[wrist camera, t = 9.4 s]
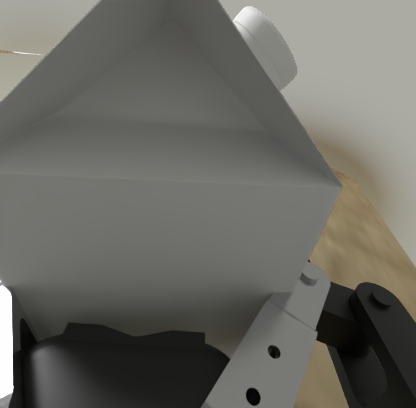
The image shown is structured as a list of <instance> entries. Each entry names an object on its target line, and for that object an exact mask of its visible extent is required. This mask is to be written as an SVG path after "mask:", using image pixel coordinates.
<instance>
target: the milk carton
mask: <svg viewBox="0 0 416 408" xmlns="http://www.w3.org/2000/svg"><path fill="white" fill-rule="evenodd" d="M296 74H297V66H296V63H295V60H294V57H293V55H292V53H291V51H290V49H289V47H288V45H287V43H286V42H285V40H284V39H283V37H282V35H281V34H280V33H279V31H278V30H277V28H276V27H275V26H274V25H273V23H272V22H271V21H270V20H269V19H268V18H267V17H266V16H265V15H264V14H263V13H261V12H260V11H259V10H258V9H256V8H254V7H251V6H248V7H245V8H243V9H242V10H241V12H240V13H239V14H238V15H237V16H236V17H235V19H234V20H233V21H232V20H231V18H230V17H229V15H228V14H227V12H226V11H225V9H224V8H223V6H222V5H221V3H220V2H219V0H100V1H98V3H97V4H96V5H95V6H94V7H93V8H92V9H91V10H90V11H89V12H88V13H87V14H86V15H85V16H84V17H83V18H82V19H81V20H80V21H79V22H78V23H77V24H76V25H75V26H74V27H73V28H72V29H71V30H70V31H69V32H68V33H67V34H66V35H65V37H63V38H62V39H61V40H60V41H59V42H58V43H57V44H56V46H55V47H54V48H53V49H52V50H51V51H50V52H49V53H48V54H47V55H46V56H45V57H44V58H43V59H42V60H41V61H40V62H39V63H38V64H37V65H36V66H35V67H34V68H33V69H32V70H31V71H30V72H29V73H28V74H27V75H26V76H25V77H24V78H23V79H22V80H21V81H20V82H19V83H18V84H17V85H16V87H15V88H14V89H13V90H12V91H11V92H10V93H9V94H8V95H7V96H6V97H5V98H4V99H3V100H2V101H1V102H0V281H1V283H2V285H3V286H11V287H12V289H13V291H14V293H15V295H16V296H17V298H18V300H19V302H20V304H21V306H22V308H23V309H24V311H25V313H26V315H27V317H28V319H29V321H30V322H31V324H32V326H33V328H34V330H35V332H36V333H37V335H38V337H39V339H40V341H41V340H44V339H46V338H49V337H52V336H55V335H59V334H63V332H64V330H65V328H66V326H67V324H68V322H72V323H85V324H98V325H105V326H107V327H110V328H113V329H115V330H118V331H121V332H123V333H126V334H129V335H131V336H143V335H149V334H154V333H159V332H165V331H170V330H177V331H191V332H204V333H205V343H206V344H209V345H211V346H213V347H215V348H217V349H219V350H220V351H222V352H223V353H224V354H226V355H227V356H228V357H229V358H230V359H231V358H232V356H233V355H234V353H235V351H236V350H237V348H238V346H239V345H240V343H241V341H242V340H243V338H244V336H245V335H246V333H247V332H248V330H249V328H250V327H251V325H252V323H253V322H254V320H255V318H256V317H257V315H258V314H259V312H260V310H261V309H262V307H263V305H264V304H265V302H266V301H267V300H269V299H270V298H271V296H272V294H273V293H277V292H293V290H294V288H295V286H296V284H297V282H298V280H299V278H300V276H301V274H302V272H303V270H304V268H305V266H306V264H307V262H308V260H309V258H310V255H311V253H312V251H313V249H314V247H315V245H316V243H317V241H318V239H319V237H320V235H321V233H322V231H323V229H324V227H325V224H326V222H327V220H328V218H329V216H330V214H331V212H332V210H333V208H334V205H335V203H336V201H337V199H338V196H339V194H340V192H341V189H342V188H343V187H342V184H341V182H340V181H339V179H338V177H337V176H336V174H335V173H334V171H333V170H332V168H331V167H330V165H329V164H328V162H327V161H326V159H325V158H324V156H323V155H322V153H321V152H320V150H319V149H318V147H317V146H316V144H315V143H314V141H313V140H312V139H311V137H310V136H309V134H308V133H307V131H306V130H305V128H304V127H303V125H302V124H301V122H300V121H299V119H298V118H297V116H296V115H295V113H294V112H293V110H292V109H291V107H290V106H289V104H288V103H287V102H286V100H285V99H284V97H283V95H282V94H281V92H280V90H281V89H283V88H284V87H285V86H287V84H289V83H290V82H291V81H292V80H293V79H294V78H295V76H296Z"/></svg>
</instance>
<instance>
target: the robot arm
mask: <svg viewBox="0 0 416 408" xmlns="http://www.w3.org/2000/svg"><path fill="white" fill-rule="evenodd" d="M316 340H317V341H320V342H322V343H325V344H326V345H327V347H328V350H329V353H330V356H331V358H332V361H333V364H334V367H335V370H336V372H337V375H338V378H339V381H340V383H341V386H342V389H343V392H344V395H345V397H346V400H347V403H348V406H349V408H416V323H415V321H414V320H413V319H412V317H411V316H410V314H409V313H408V312H407V310H406V309H405V307H404V306H403V305H402V303H401V302H400V301H399V299H398V298H397V297H396V296H395V295H393V294H392V293H391V292H390V291H388V290H387V289H385V288H383V287H381V286H379V285H377V284H373V283H369V282H364V283H360V284H359V285H358V286H357V287H356V289H355V290H353V289H350V288H347V287H344V286H341V285H338V284H335V283H333V282H331V281H330V279H329V277H328V276H327V274H326V273H325V272H324V271H323V270H322V269H321V268H320V267H318V266H316V265H315V264H313V263H311V262H310V260H308V262H307V264H306V266H305V268H304V270H303V272H302V274H301V276H300V278H299V280H298V282H297V284H296V286H295V288H294V290H293V292H277V293H273V294H272V296H271V298H270V299H269V300H267V301H266V302H265V304H264V305H263V307H262V309H261V310H260V312H259V314H258V315H257V317H256V318H255V320H254V322H253V323H252V325H251V327H250V328H249V330H248V332H247V333H246V335H245V336H244V338H243V340H242V341H241V343H240V345H239V346H238V348H237V350H236V351H235V353H234V355H233V356H232V358H231V359H230V358H229V357H228V356H227V355H226V354H224V353H223V352H222V351H220V350H219V349H217V348H215V347H213V346H211V345H209V344H206V343H205V333H204V332H191V331H177V330H170V331H165V332H159V333H154V334H149V335H143V336H131V335H129V334H126V333H123V332H121V331H118V330H115V329H113V328H110V327H107V326H105V325H98V324H85V323H72V322H68V324H67V326H66V328H65V330H64V332H63V334H59V335H55V336H52V337H49V338H46V339H44V340H41V341H40V339H39V337H38V335H37V333H36V332H35V330H34V328H33V326H32V324H31V322H30V321H29V319H28V317H27V315H26V313H25V311H24V309H23V308H22V306H21V304H20V302H19V300H18V298H17V296H16V295H15V293H14V291H13V289H12V287H11V286H3V285H2V283H1V281H0V408H293V407H294V404H295V401H296V398H297V395H298V392H299V389H300V386H301V383H302V380H303V377H304V374H305V371H306V368H307V365H308V362H309V359H310V356H311V353H312V350H313V347H314V344H315V341H316ZM373 350H374V351H373ZM374 352H375V353H374ZM375 354H376V355H375ZM376 356H377V357H376ZM377 358H378V359H377ZM378 360H379V361H378ZM379 362H380V363H379ZM380 364H381V365H380ZM381 366H382V367H381ZM382 368H383V369H382Z"/></svg>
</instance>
